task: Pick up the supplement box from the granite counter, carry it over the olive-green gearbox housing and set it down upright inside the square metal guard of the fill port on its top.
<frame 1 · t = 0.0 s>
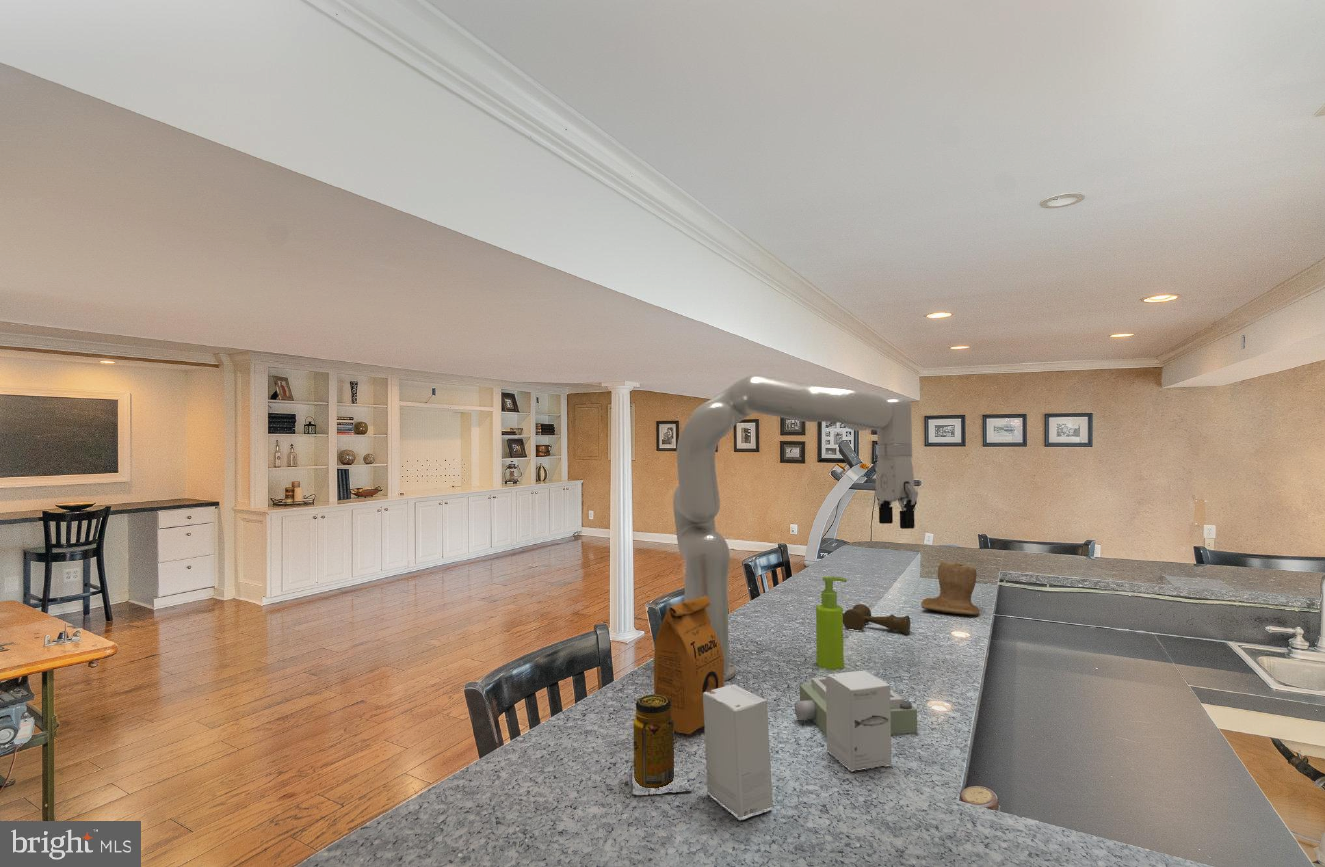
hand: (896, 525, 144), 31 cm above the counter, tool pointing down, fingers open, 9 cm apart
supplement box: (858, 760, 98), on the counter
coffee package: (690, 723, 112), on the counter
condiment: (660, 783, 92), on the counter
kendama: (871, 630, 169), on the counter
brown boot: (951, 612, 186), on the counter
gearbox housing: (855, 718, 113), on the counter
skincare box: (737, 804, 86), on the counter
soap dispenser: (832, 666, 141), on the counter
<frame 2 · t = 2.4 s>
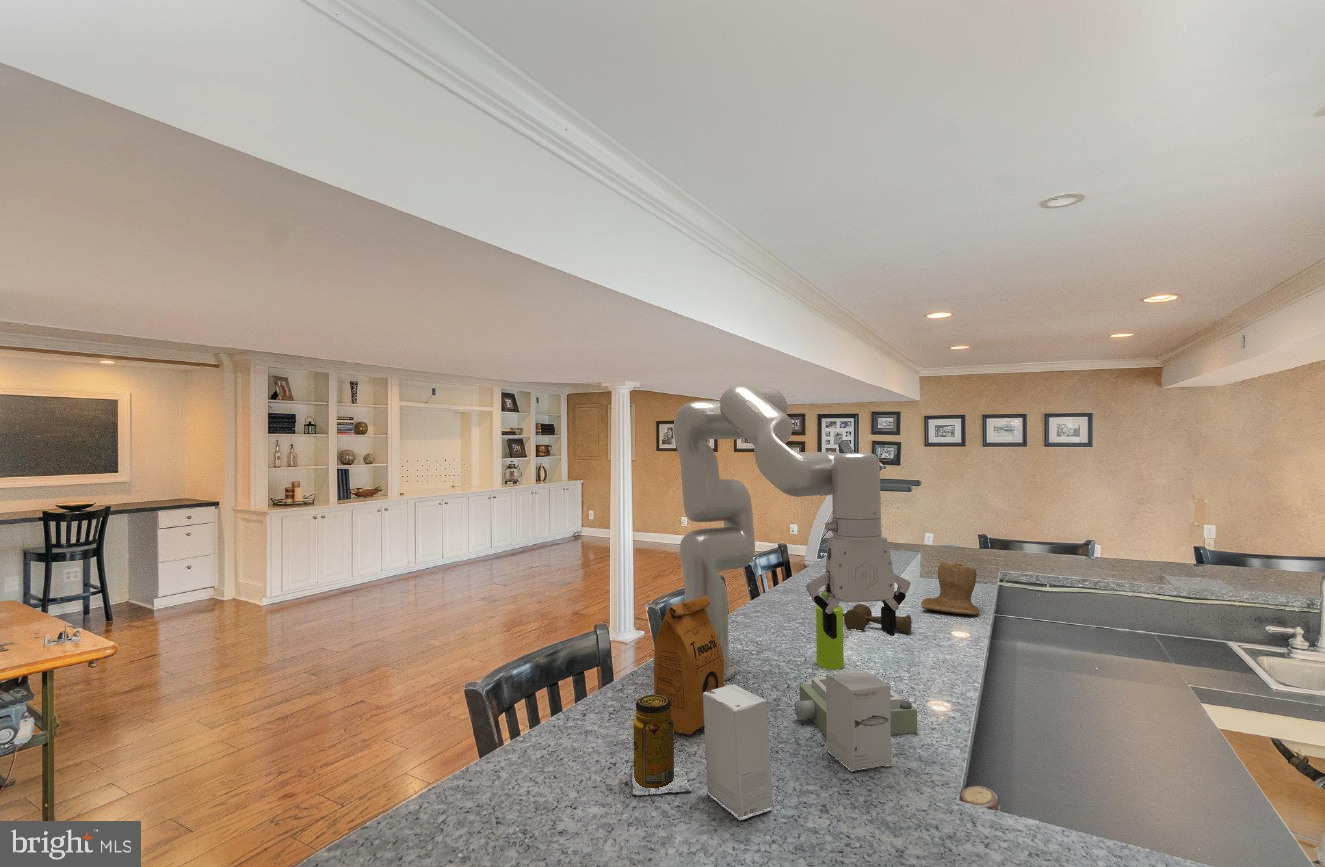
hand: (859, 635, 100), 19 cm above the counter, tool pointing down, fingers open, 9 cm apart
nothing on the counter moved.
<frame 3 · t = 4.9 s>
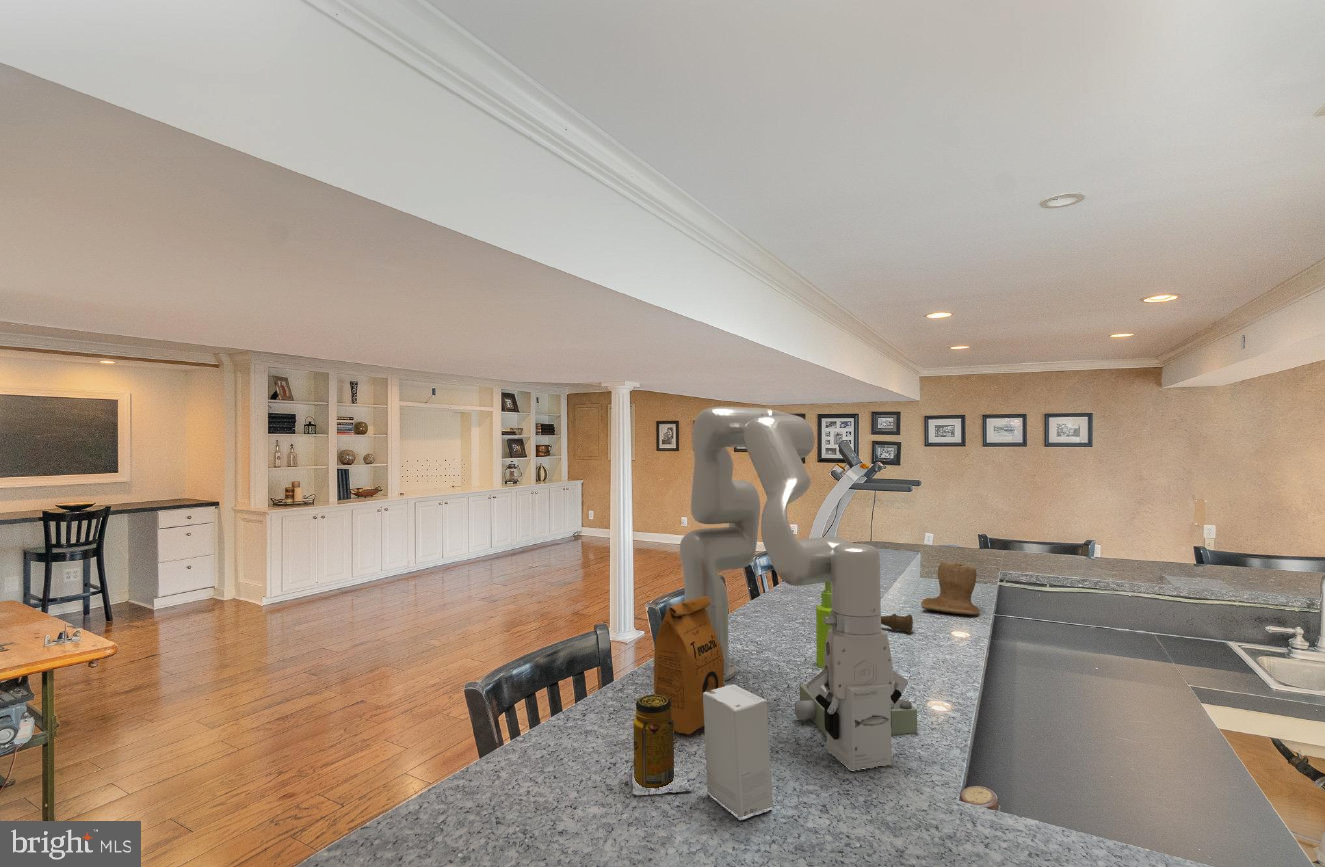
hand: (858, 733, 98), 4 cm above the counter, tool pointing down, fingers closed on supplement box, 7 cm apart
supplement box: (858, 760, 98), on the counter, touching gripper
everything else where it was.
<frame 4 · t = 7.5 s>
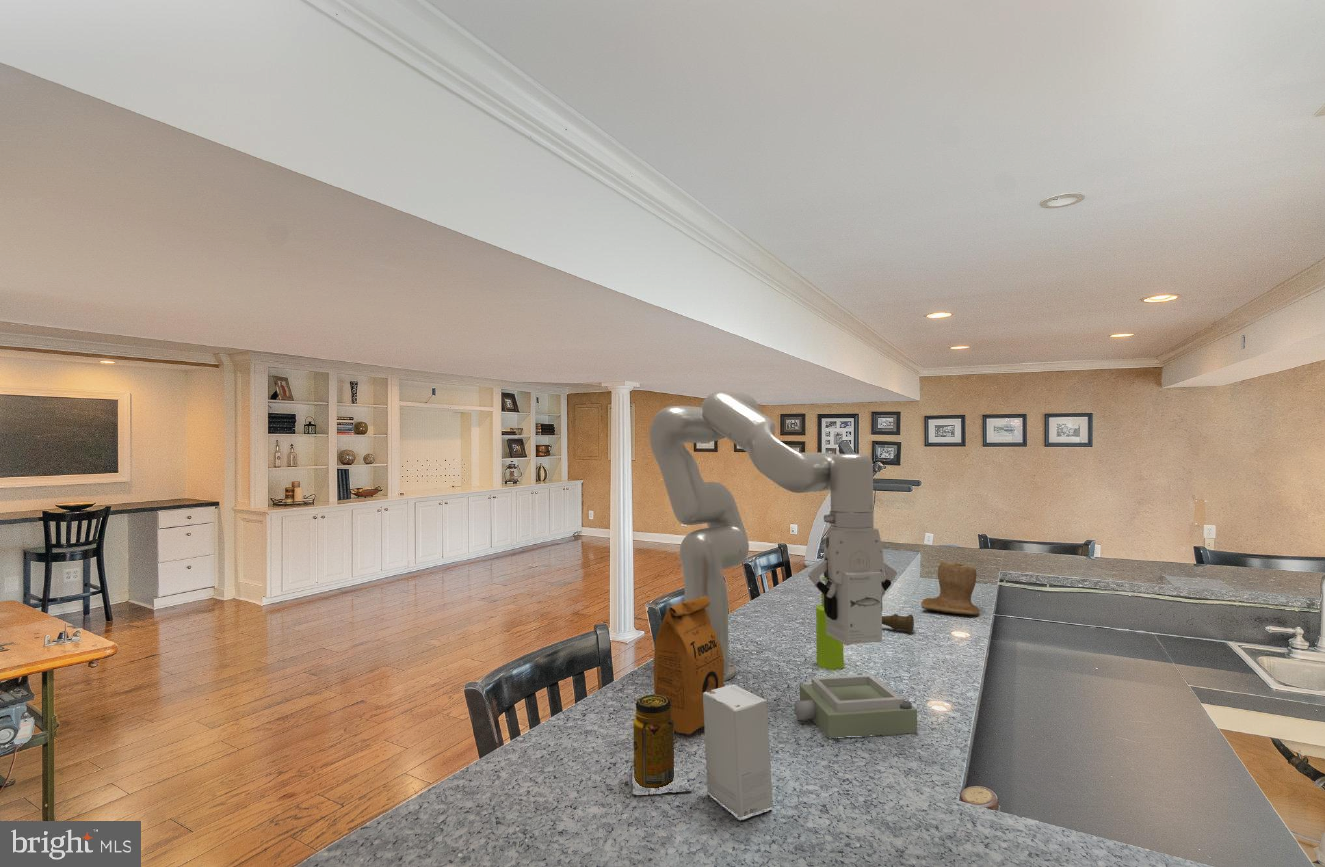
hand: (853, 616, 113), 18 cm above the counter, tool pointing down, fingers closed on supplement box, 7 cm apart
supplement box: (853, 639, 113), point 14 cm above the counter, touching gripper
everything else where it was.
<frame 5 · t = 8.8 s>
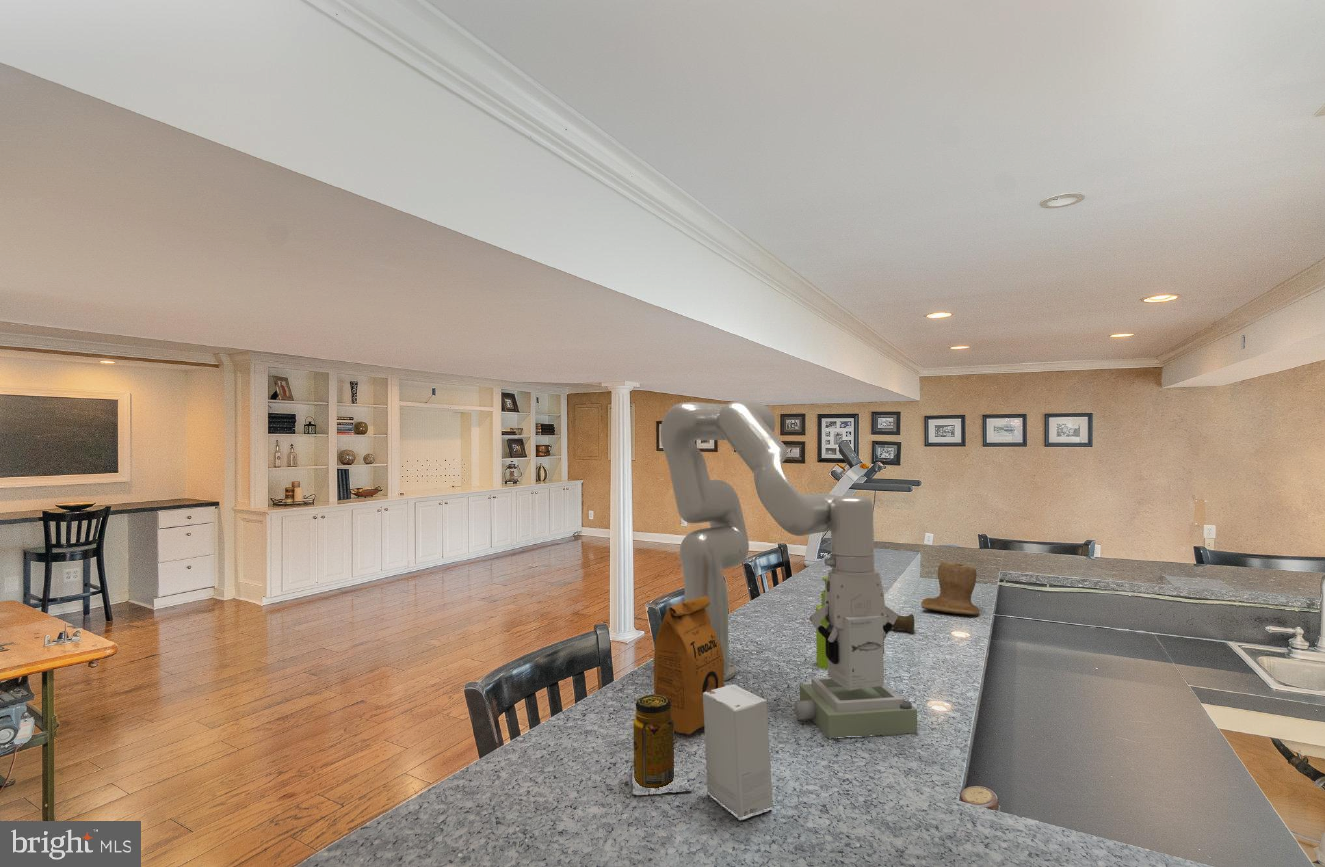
hand: (854, 660, 113), 11 cm above the counter, tool pointing down, fingers closed on supplement box, 7 cm apart
supplement box: (855, 683, 113), point 6 cm above the counter, touching gripper
when the fingers open (9 cm above the counter, at t = 10.2 s): supplement box moves 1 cm, resting on gearbox housing.
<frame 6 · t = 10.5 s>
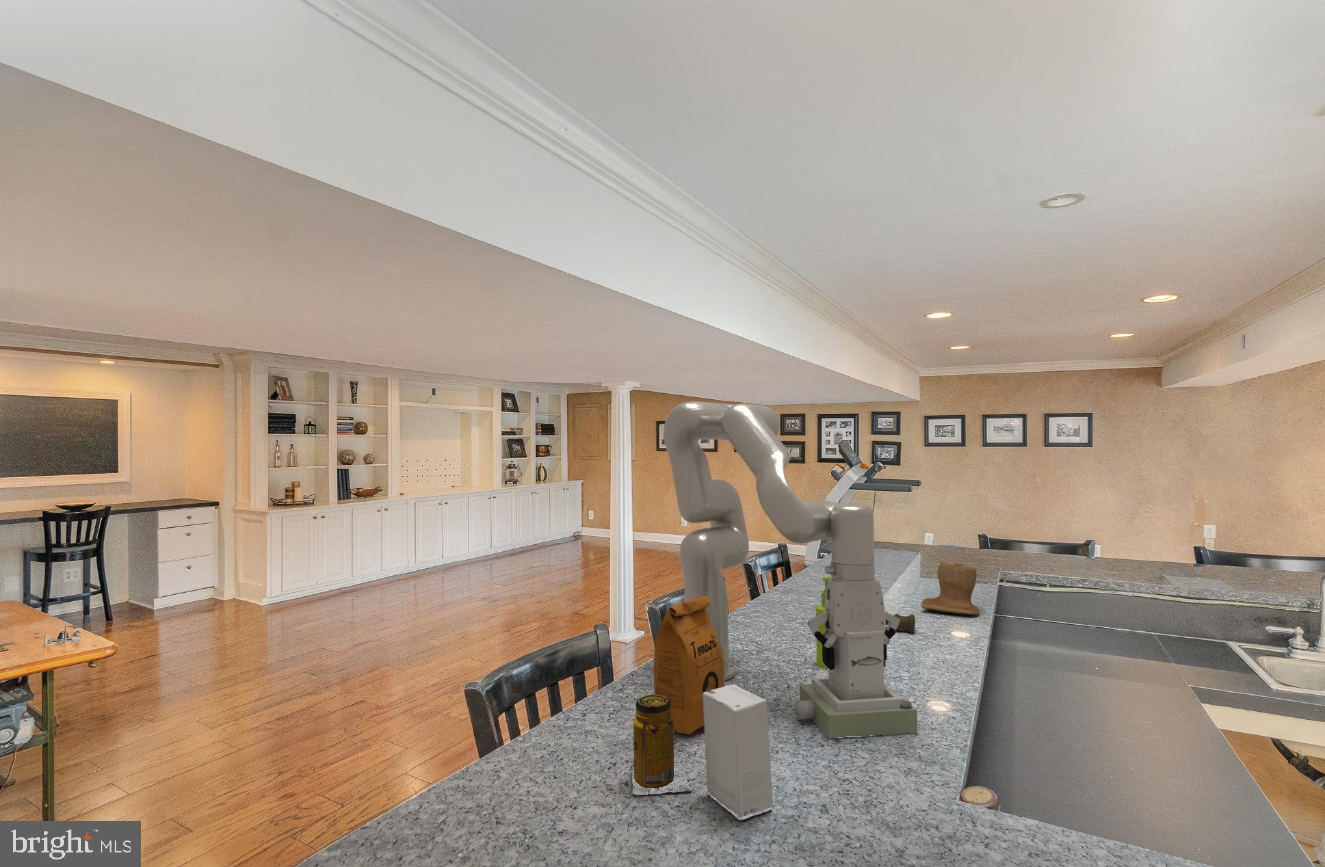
hand: (854, 666, 113), 9 cm above the counter, tool pointing down, fingers open, 9 cm apart
supplement box: (856, 697, 113), point 4 cm above the counter, touching gearbox housing
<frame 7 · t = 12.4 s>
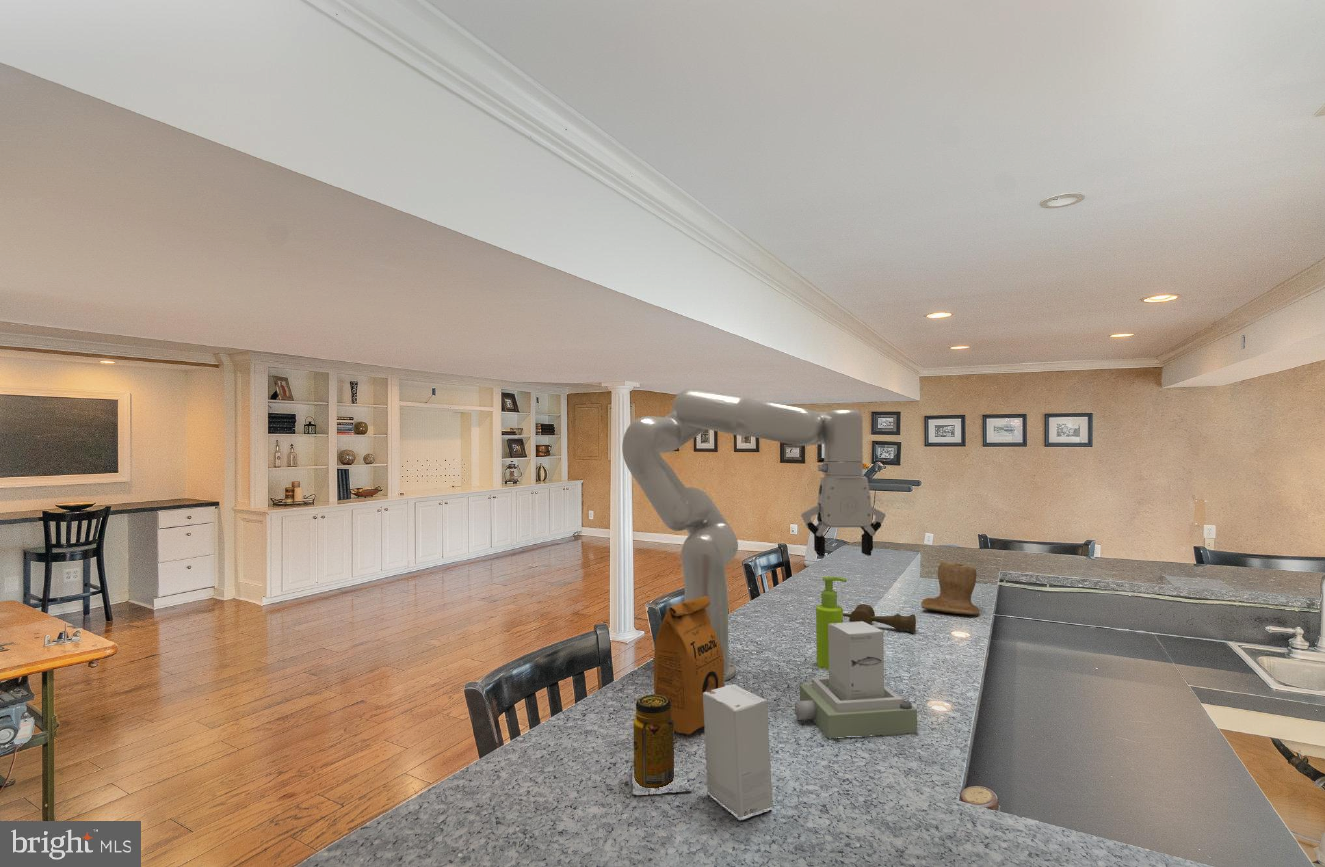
hand: (843, 554, 126), 28 cm above the counter, tool pointing down, fingers open, 9 cm apart
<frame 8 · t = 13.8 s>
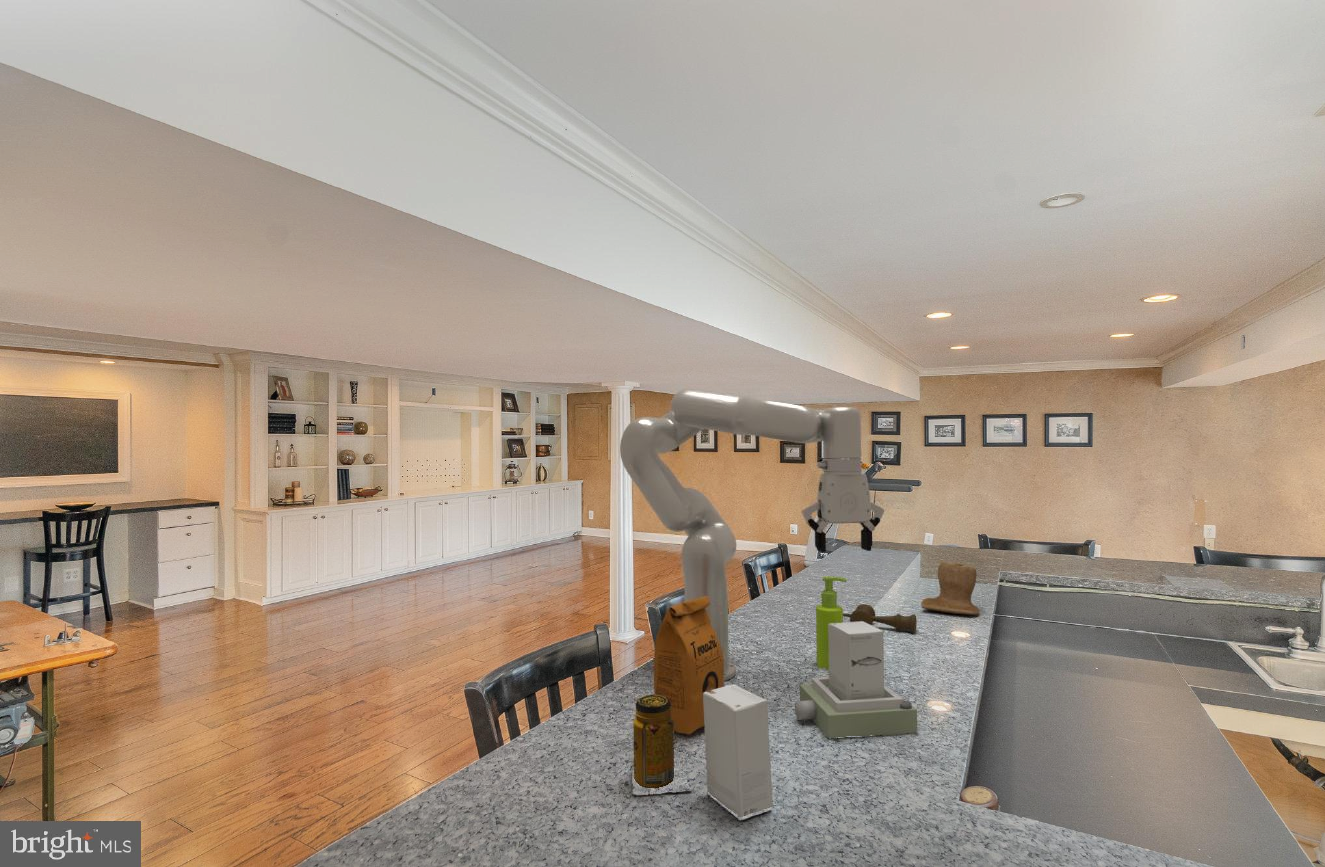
hand: (843, 550, 127), 28 cm above the counter, tool pointing down, fingers open, 9 cm apart
at the end: supplement box 0.2 cm off-centre on the gearbox housing, point 3.8 cm above the gearbox housing's base; supplement box tilted 0°; the gripper is holding nothing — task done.
